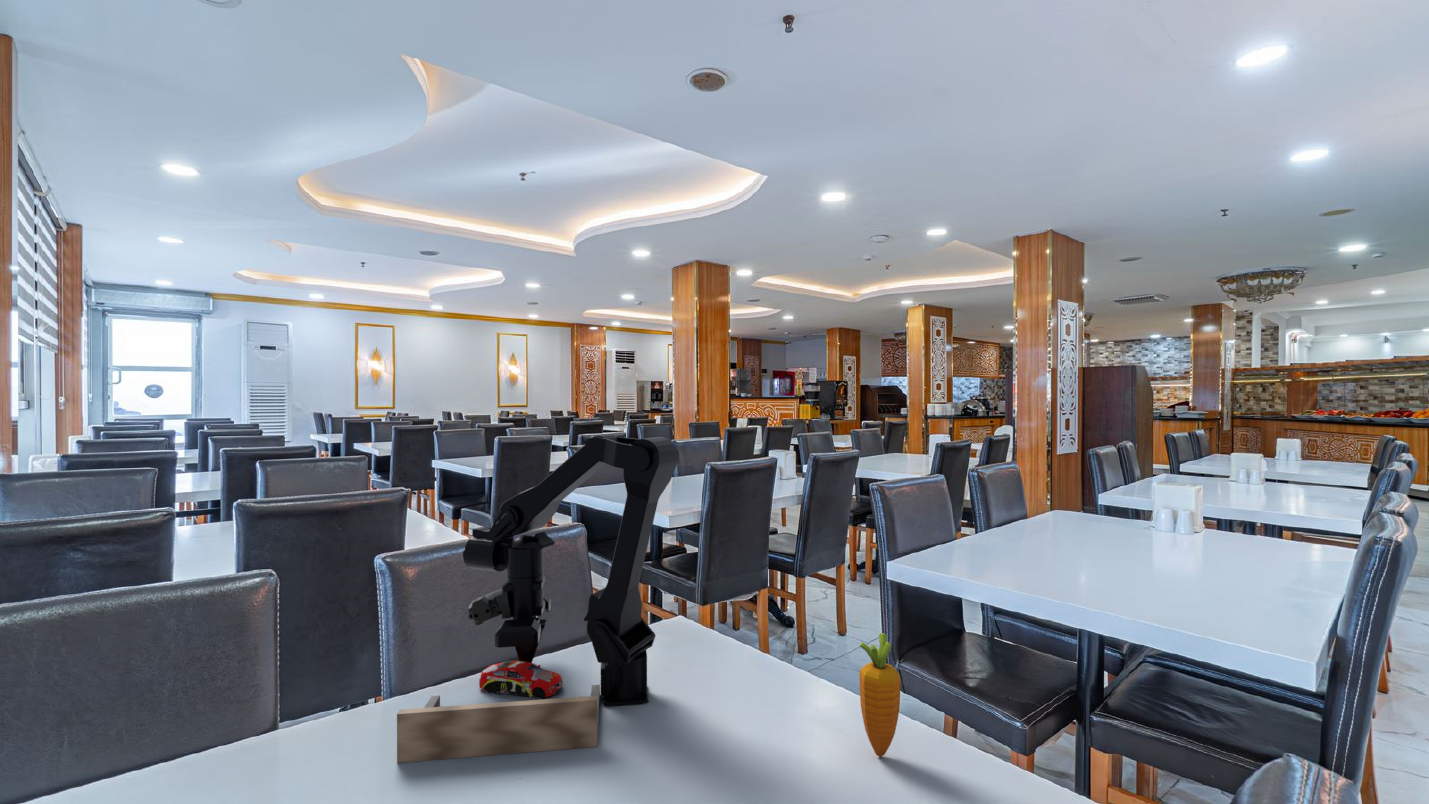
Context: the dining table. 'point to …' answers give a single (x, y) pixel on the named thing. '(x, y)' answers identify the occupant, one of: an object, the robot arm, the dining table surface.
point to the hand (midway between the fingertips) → (525, 670)
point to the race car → (520, 679)
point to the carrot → (879, 696)
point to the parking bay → (497, 728)
